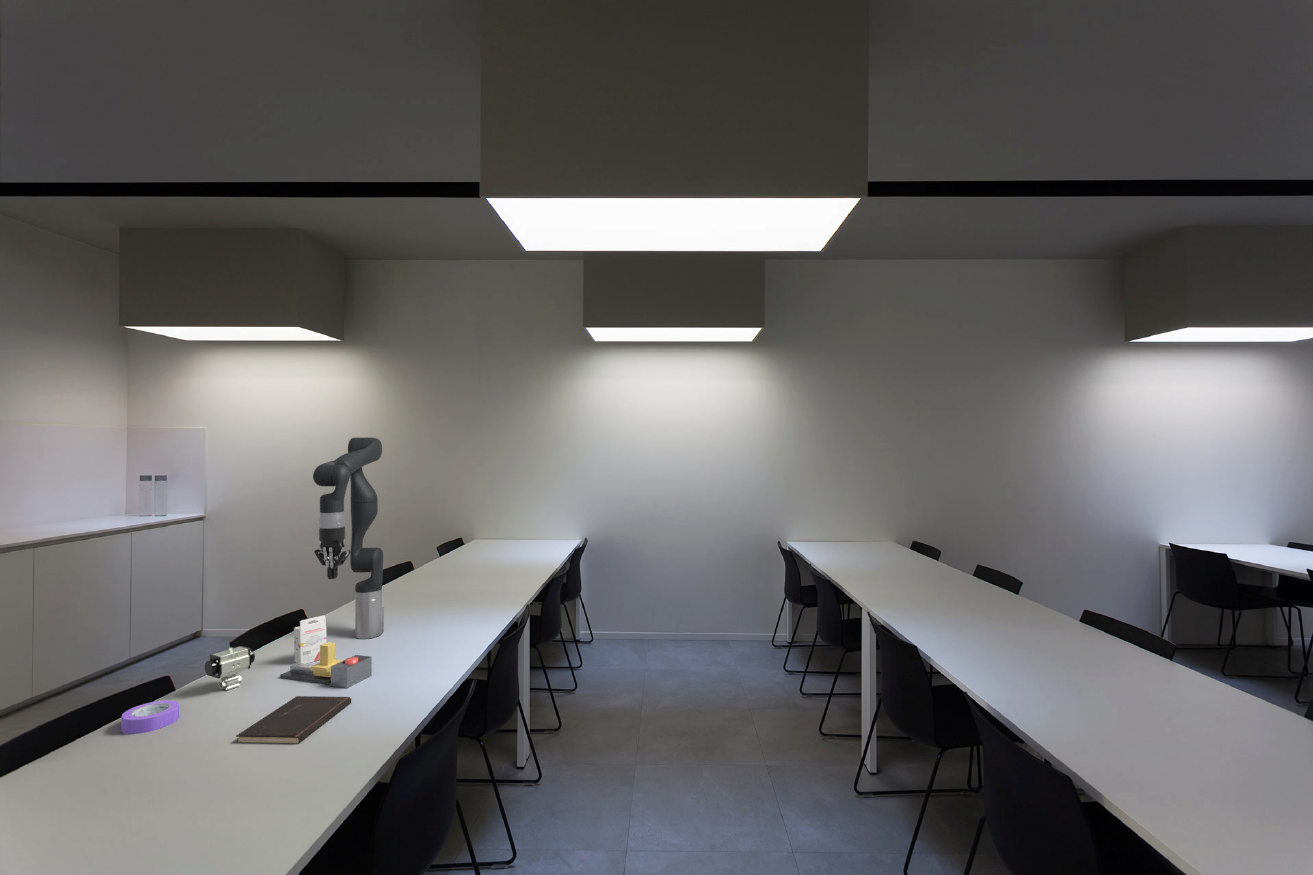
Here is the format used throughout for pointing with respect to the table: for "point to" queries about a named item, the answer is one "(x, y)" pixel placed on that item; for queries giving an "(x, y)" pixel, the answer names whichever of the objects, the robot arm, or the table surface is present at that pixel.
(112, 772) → the table surface
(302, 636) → the ink cartridge box
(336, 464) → the robot arm
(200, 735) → the table surface
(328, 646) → the yellow flanged block
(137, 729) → the masking tape
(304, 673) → the rail
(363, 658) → the grey button housing
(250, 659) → the pneumatic valve
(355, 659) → the button
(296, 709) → the hardcover book
